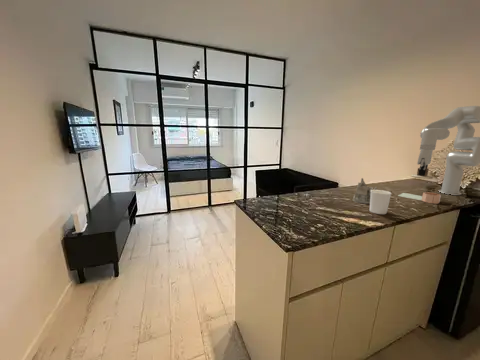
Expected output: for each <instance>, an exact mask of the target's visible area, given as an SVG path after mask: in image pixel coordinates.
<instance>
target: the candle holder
mask: <svg viewBox="0 0 480 360" xmlns="http://www.w3.org/2000/svg"><path fill="white" fill-rule="evenodd" d="M391 196H392V192H391V191H388V190H385V189H384V190H383V189H377V190H371V194H370V203H369V210H368V211H369V212H370V213H373V214H376V215H386V214H387V213H388V209H389V204H390V200H391Z"/></svg>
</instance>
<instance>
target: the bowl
mask: <svg viewBox="0 0 480 360" xmlns="http://www.w3.org/2000/svg"><path fill="white" fill-rule="evenodd" d="M421 196H422V200H421V201H422V202H424V203H426V204H428V203H429V204H435V205H436V204H440V202H441V198H442V194H440V193H437V192H430V191H429V192H428V191H427V192H426V191H424V192H422V195H421Z"/></svg>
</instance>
